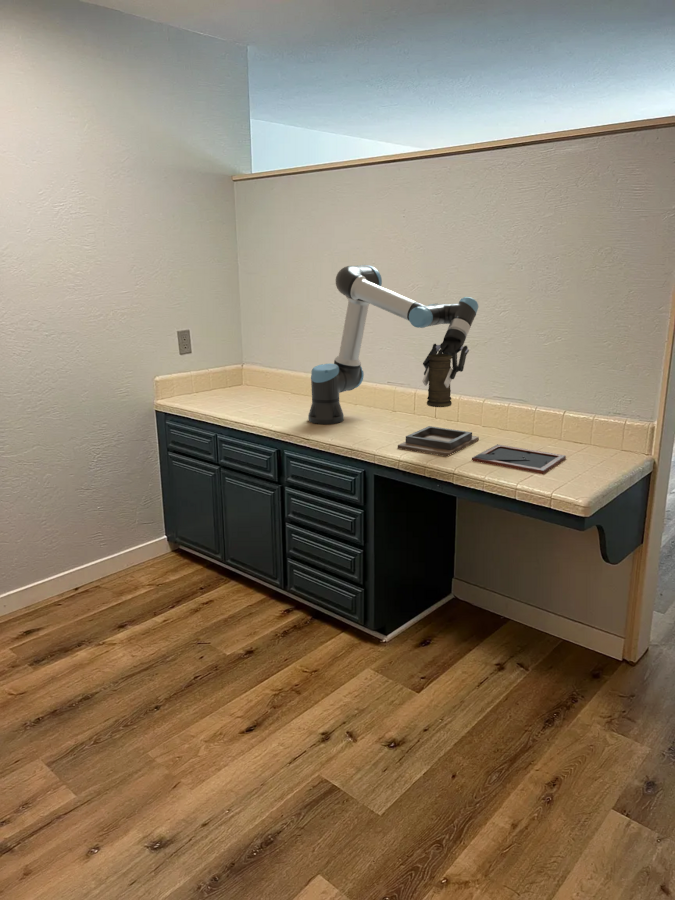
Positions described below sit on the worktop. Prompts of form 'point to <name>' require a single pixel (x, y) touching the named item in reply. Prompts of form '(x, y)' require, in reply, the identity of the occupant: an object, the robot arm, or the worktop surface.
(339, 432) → the worktop surface
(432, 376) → the container
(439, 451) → the holder
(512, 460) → the picture frame
